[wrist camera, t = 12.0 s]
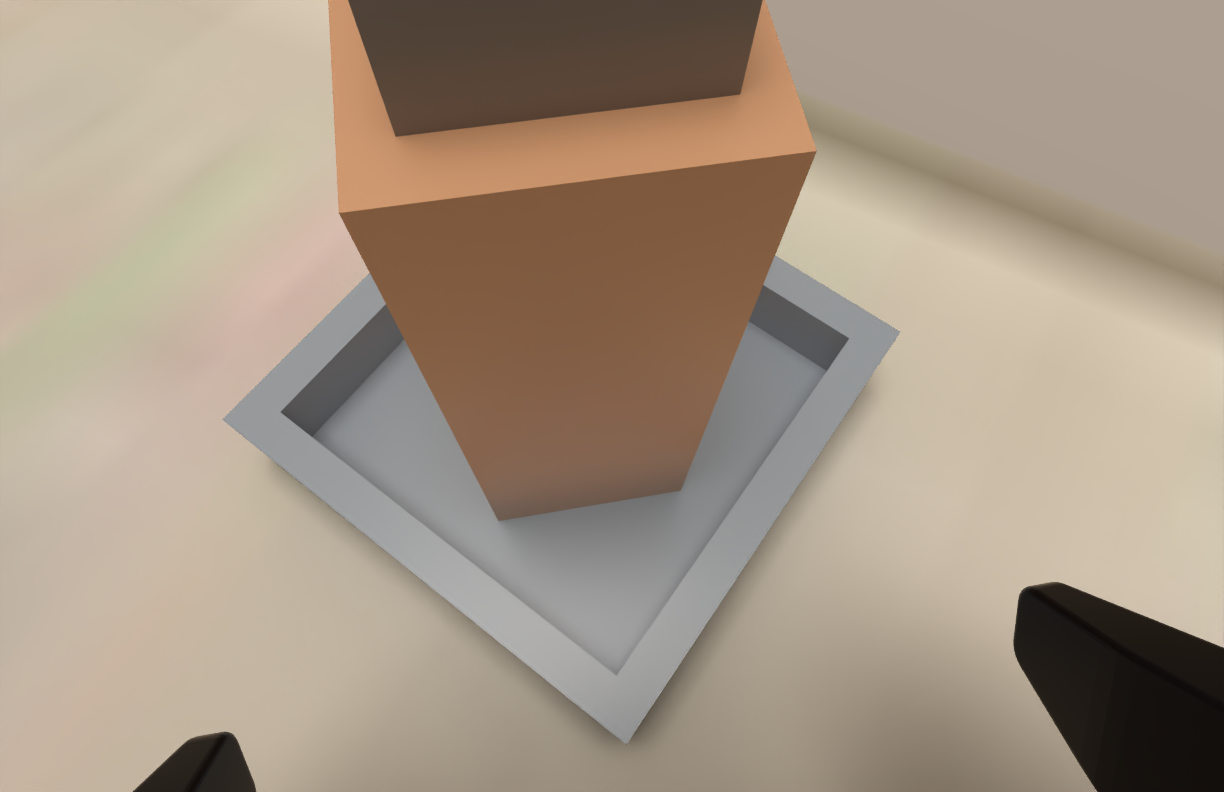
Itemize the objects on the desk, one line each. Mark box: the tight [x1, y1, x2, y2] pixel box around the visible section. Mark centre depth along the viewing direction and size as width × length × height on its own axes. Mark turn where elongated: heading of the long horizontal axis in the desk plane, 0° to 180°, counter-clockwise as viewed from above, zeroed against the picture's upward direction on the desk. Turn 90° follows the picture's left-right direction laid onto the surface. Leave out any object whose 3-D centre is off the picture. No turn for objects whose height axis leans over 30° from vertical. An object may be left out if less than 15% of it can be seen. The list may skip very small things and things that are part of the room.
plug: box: [328, 0, 817, 521], centre depth 11 cm, size 5×4×13 cm
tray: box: [222, 256, 900, 745], centre depth 17 cm, size 10×10×2 cm
